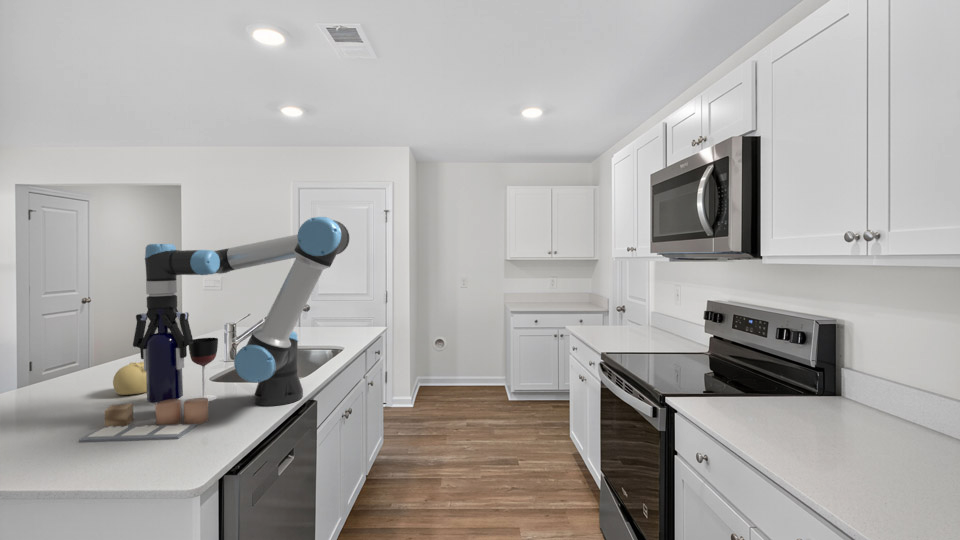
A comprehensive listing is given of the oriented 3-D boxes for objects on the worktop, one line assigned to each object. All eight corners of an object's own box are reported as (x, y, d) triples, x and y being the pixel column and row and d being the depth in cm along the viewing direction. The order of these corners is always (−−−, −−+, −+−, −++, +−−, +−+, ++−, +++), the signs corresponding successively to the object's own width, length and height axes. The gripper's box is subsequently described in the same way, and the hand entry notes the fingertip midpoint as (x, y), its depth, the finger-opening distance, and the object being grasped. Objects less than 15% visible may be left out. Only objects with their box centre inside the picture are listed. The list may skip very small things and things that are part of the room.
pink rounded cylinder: (185, 418, 131) (185, 398, 131) (174, 426, 125) (173, 405, 125) (163, 419, 130) (162, 399, 130) (151, 427, 124) (150, 406, 124)
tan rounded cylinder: (212, 417, 133) (212, 397, 133) (201, 424, 127) (201, 403, 127) (190, 417, 132) (190, 397, 132) (179, 425, 126) (179, 404, 126)
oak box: (133, 420, 130) (132, 403, 130) (126, 426, 125) (126, 408, 125) (112, 422, 128) (111, 405, 128) (104, 428, 123) (104, 410, 123)
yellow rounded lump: (162, 391, 157) (162, 361, 157) (121, 400, 147) (120, 368, 147) (148, 386, 163) (147, 357, 163) (107, 394, 153) (107, 363, 153)
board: (196, 425, 126) (196, 423, 126) (178, 438, 117) (178, 435, 117) (104, 428, 123) (104, 425, 123) (79, 442, 114) (79, 439, 114)
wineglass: (183, 401, 147) (182, 341, 146) (207, 393, 155) (207, 336, 154) (199, 404, 144) (199, 343, 143) (224, 396, 152) (223, 338, 151)
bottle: (165, 403, 129) (161, 301, 129) (138, 402, 131) (134, 301, 130) (190, 394, 139) (187, 298, 138) (165, 392, 140) (162, 298, 139)
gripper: (205, 293, 139) (207, 364, 139) (132, 294, 136) (134, 367, 137) (192, 295, 131) (195, 370, 132) (115, 296, 129) (117, 373, 130)
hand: (164, 368), depth 135 cm, fingers closed on bottle, 8 cm apart
